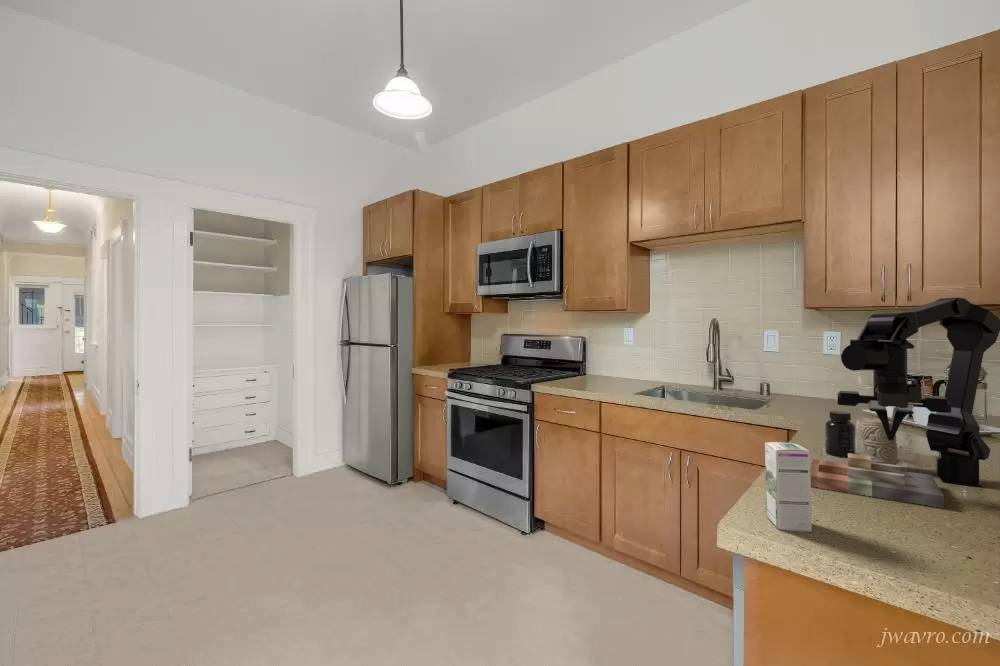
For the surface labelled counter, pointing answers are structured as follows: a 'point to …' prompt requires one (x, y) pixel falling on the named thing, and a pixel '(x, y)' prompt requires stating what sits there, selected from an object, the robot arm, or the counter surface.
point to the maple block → (859, 461)
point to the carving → (878, 442)
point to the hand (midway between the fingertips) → (890, 439)
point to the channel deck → (877, 482)
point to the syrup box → (788, 486)
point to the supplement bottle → (839, 434)
